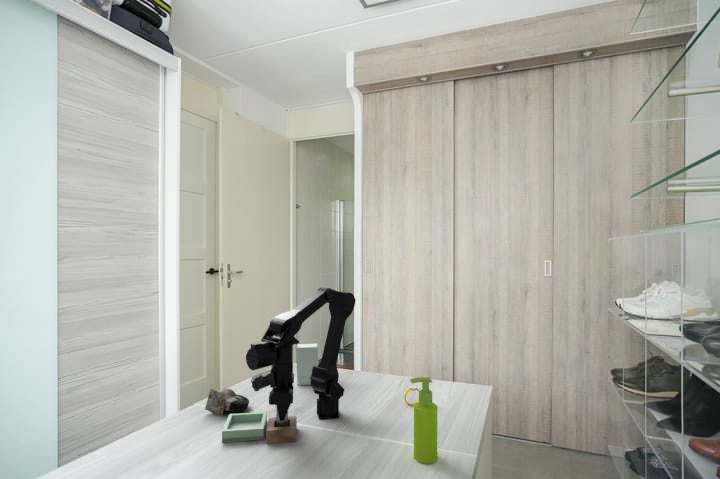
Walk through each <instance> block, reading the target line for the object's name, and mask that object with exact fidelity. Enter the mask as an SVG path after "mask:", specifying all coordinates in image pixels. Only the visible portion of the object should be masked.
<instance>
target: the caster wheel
mask: <svg viewBox="0 0 720 479" xmlns="http://www.w3.org/2000/svg"><path fill="white" fill-rule="evenodd" d="M249 405H250V399H249V398H247V397H246V396H244V395H240V394H236V393H235V391H234V390H233V389H231V388H222V389H219V390H215V389H213V388H210V391H209V394H208V397H207V400H206V405H205V407H204V410H206V411H207V412H209V413H212V414H214V415H216V416H219V417H222V416H223V414H224V411H226V412H227V411H228V412H230V411H231V412H237V413H238V412H239V413H241V412H245V411H247V410H248V407H249Z"/></svg>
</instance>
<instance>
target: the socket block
mask: <svg viewBox="0 0 720 479" xmlns="http://www.w3.org/2000/svg"><path fill="white" fill-rule="evenodd" d="M297 417H298V416H295V415H294V416H288V426H286V427H276V417H268V419H267V424H266V430H265V435H266V437H265V438H266V440H265V441H266V442H265V443H266V445H267V444H268V445H269V444H281V443H296V442H297V430H298V429H297V428H298V427H297Z"/></svg>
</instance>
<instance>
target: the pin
mask: <svg viewBox="0 0 720 479" xmlns="http://www.w3.org/2000/svg"><path fill="white" fill-rule="evenodd" d="M275 410H276V414H275V415H276V427H286V426H288V417H289V410H288V411H287V414H286V416H285V419H284V420H283V421H280V419H279V414H278V410H277V407H276V409H275Z"/></svg>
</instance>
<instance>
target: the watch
mask: <svg viewBox="0 0 720 479" xmlns="http://www.w3.org/2000/svg"><path fill="white" fill-rule="evenodd" d="M410 391H417V392H419V391H420V389H418V386H416V385H409V386H408V388H407V389H405V391H404V393H403V400H404V402H405V403H406V404H407V405H408V406H414V404H415V403H416V402H419V399H418V400H417V401H416V402H408V401H407V394H408V392H410Z"/></svg>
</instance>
